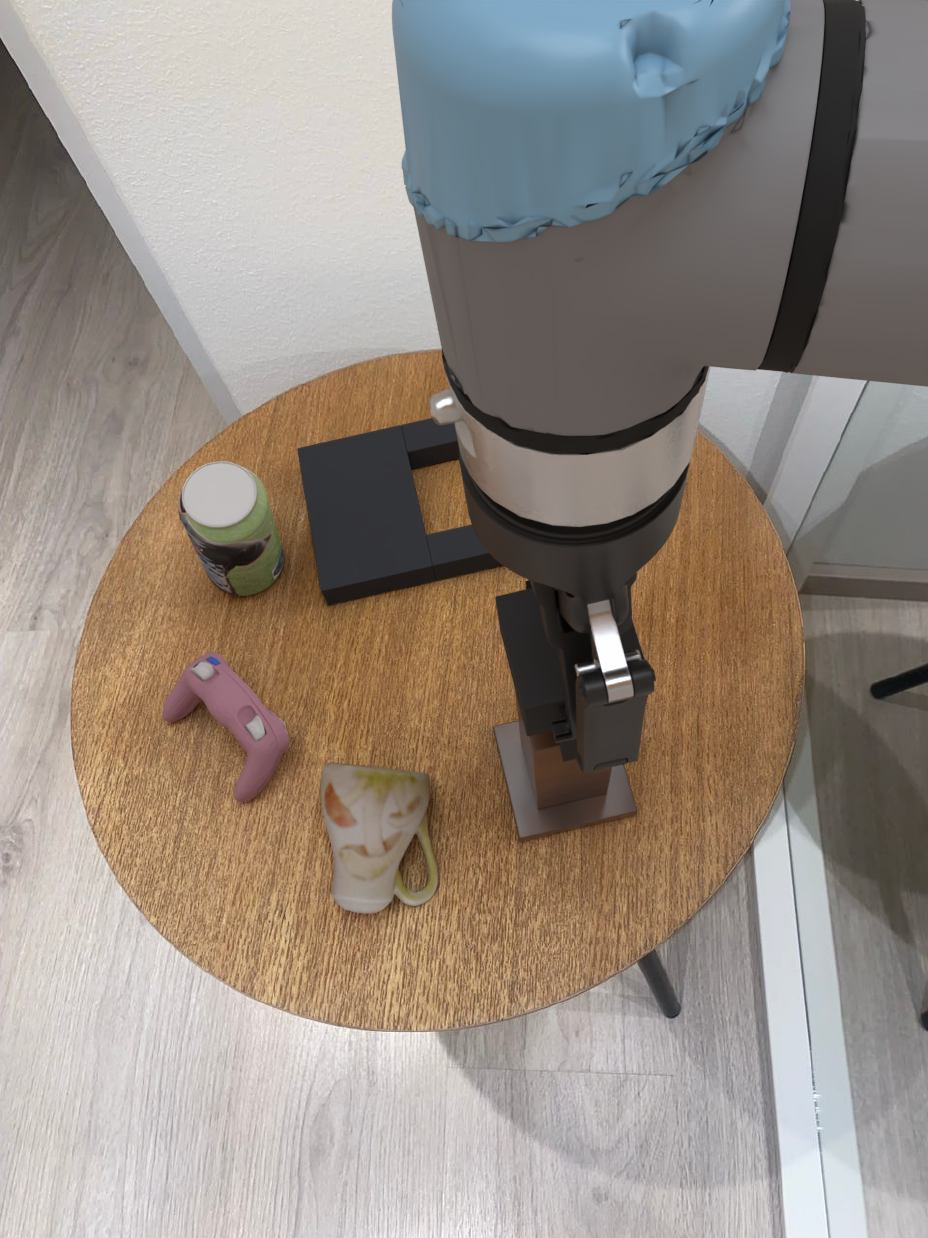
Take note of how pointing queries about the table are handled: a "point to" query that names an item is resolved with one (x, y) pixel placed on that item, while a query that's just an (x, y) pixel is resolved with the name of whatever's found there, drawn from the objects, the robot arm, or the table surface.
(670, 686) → the table surface
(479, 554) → the base pad
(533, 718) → the black square block
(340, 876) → the mug
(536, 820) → the stand
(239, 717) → the video game controller
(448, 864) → the table surface
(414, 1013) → the table surface
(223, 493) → the beverage can
